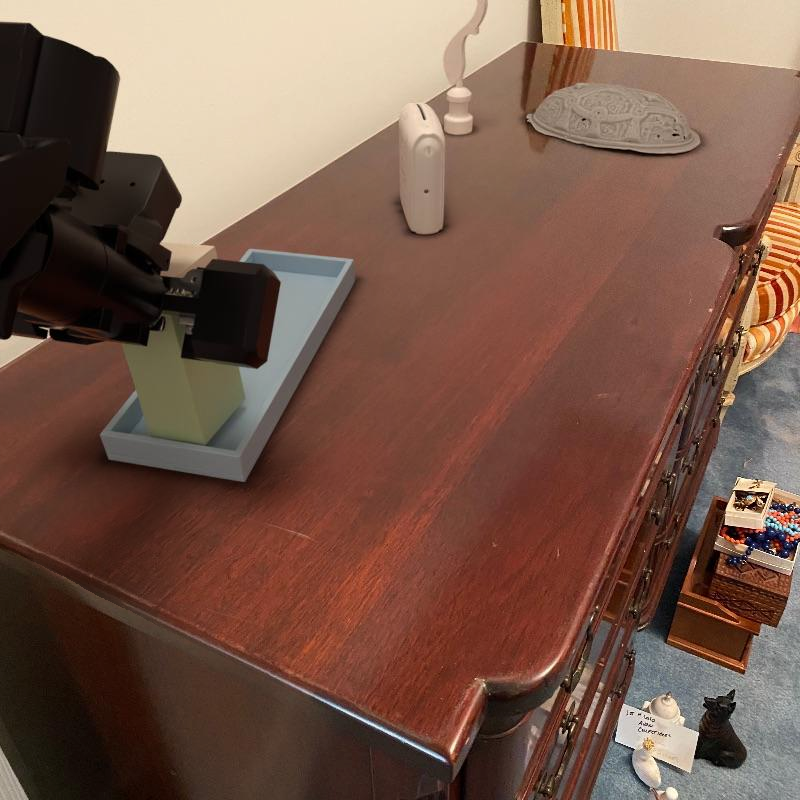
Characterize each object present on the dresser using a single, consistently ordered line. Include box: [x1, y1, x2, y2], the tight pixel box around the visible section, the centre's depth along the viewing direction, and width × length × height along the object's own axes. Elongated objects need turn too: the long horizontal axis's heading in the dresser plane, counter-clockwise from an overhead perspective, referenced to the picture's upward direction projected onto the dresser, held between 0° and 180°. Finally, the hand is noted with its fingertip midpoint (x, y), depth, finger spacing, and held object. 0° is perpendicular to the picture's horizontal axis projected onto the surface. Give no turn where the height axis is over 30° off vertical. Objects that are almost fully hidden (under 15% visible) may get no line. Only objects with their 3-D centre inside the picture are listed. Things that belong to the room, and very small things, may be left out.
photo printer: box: [398, 101, 446, 235], centre depth 85 cm, size 10×4×12 cm, turn 8°
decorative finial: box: [442, 0, 489, 136], centre depth 102 cm, size 6×4×25 cm
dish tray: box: [99, 248, 356, 483], centre depth 67 cm, size 29×11×3 cm, turn 166°
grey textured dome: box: [525, 82, 701, 155], centre depth 107 cm, size 16×25×7 cm, turn 54°
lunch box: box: [120, 241, 245, 445], centre depth 56 cm, size 7×5×13 cm
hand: (189, 327), depth 56 cm, fingers closed on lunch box, 5 cm apart
